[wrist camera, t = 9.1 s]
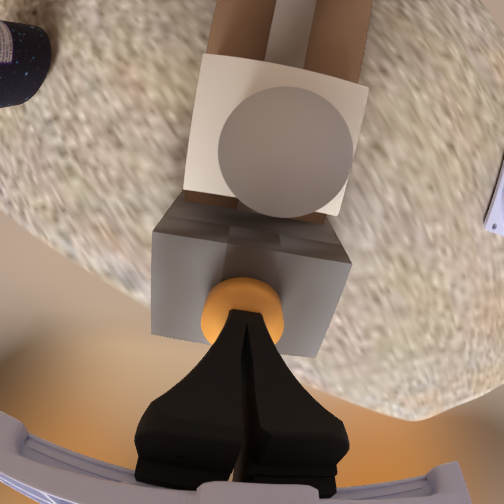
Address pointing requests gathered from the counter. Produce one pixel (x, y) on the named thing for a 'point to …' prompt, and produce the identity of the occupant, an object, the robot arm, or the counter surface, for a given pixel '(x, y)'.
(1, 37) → the beverage can
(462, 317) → the counter surface
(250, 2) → the rail
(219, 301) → the button
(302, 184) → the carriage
